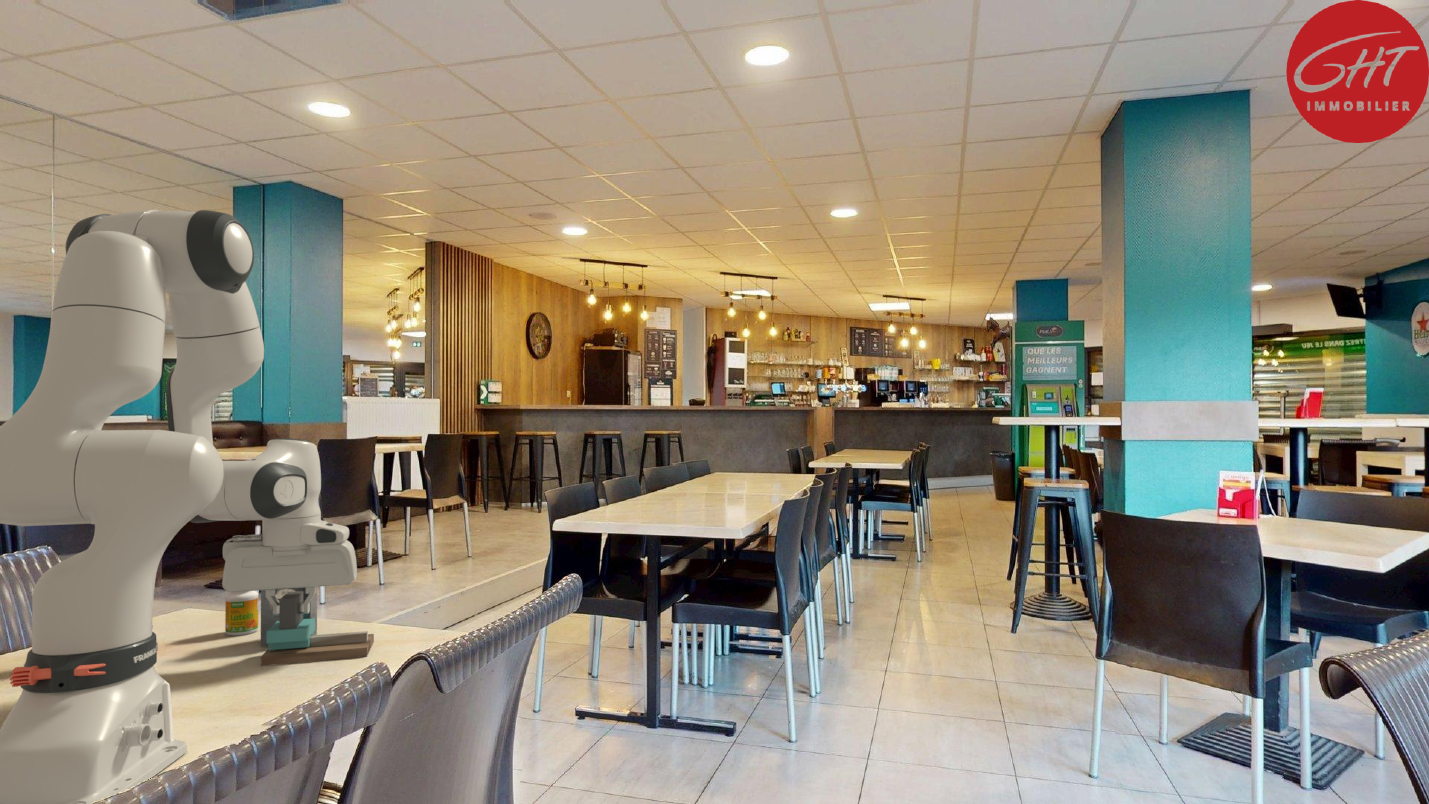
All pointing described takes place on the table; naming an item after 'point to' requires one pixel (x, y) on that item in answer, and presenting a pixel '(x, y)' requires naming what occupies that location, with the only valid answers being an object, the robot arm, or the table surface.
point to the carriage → (290, 625)
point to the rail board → (323, 649)
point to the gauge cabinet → (270, 620)
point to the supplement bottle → (241, 613)
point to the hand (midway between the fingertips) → (291, 614)
